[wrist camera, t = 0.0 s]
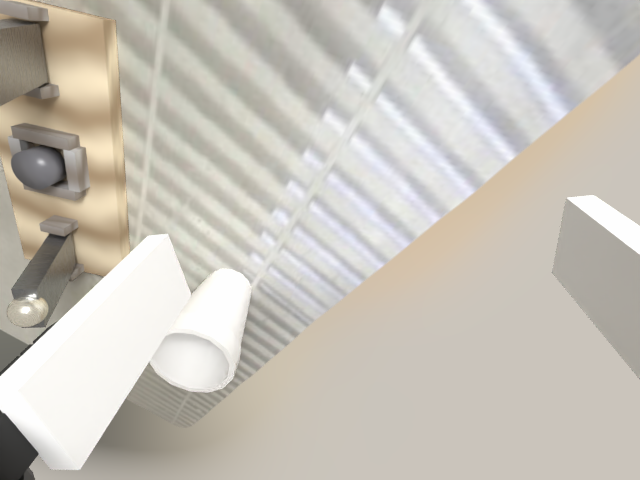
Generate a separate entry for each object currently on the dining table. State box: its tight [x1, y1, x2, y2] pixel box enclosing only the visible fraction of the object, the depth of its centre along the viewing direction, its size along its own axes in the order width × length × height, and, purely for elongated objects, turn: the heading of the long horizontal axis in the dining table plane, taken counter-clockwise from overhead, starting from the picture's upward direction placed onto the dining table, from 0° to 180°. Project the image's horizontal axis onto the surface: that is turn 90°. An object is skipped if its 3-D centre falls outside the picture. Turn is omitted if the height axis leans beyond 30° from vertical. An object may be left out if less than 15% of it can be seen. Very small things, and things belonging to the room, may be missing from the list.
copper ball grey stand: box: [0, 18, 48, 106], centre depth 29 cm, size 5×3×14 cm, turn 168°
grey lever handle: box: [7, 232, 76, 328], centre depth 40 cm, size 5×3×14 cm, turn 168°
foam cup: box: [149, 269, 252, 393], centre depth 44 cm, size 10×9×13 cm
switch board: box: [0, 0, 130, 281], centre depth 40 cm, size 30×13×4 cm, turn 168°
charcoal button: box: [11, 145, 67, 190], centre depth 38 cm, size 4×4×3 cm
